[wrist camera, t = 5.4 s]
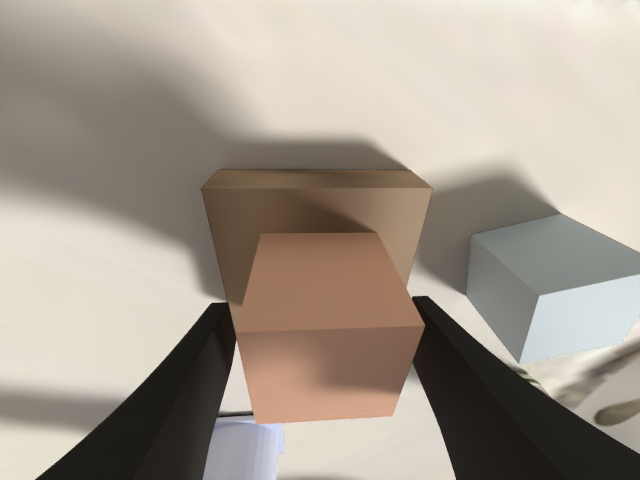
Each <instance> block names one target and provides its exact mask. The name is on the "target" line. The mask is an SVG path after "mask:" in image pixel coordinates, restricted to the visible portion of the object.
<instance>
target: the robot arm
mask: <svg viewBox="0 0 640 480" xmlns="http://www.w3.org/2000/svg"><path fill="white" fill-rule="evenodd" d="M412 301H413V303H414V305H415V307H416V309H417V311H418V312H419V314H420V316H421V318H422V320H423V322H424V324H425V328H424V331H423V333H422V336H421V339H420V341H419V344H418V347H417V350H416V352H415V355H414V358H413V361H412V362H413V365H414V367H415V369H416V372H417V374H418V377H419V379H420V381H421V384H422V386H423V388H424V391H425V393H426V395H427V398H428V400H429V403H430V405H431V407H432V410H433V412H434V414H435V417H436V419H437V422H438V425H439V427H440V430H441V433H442V436H443V439H444V442H445V445H446V448H447V451H448V454H449V457H450V460H451V463H452V467H453V470H454V473H455V477H456V480H640V454H639V453H637V452H635V451H634V450H631V449H630V448H628V447H627V446H625V445H623V444H622V443H620V442H618V441H617V440H615V439H613V438H612V437H610V436H609V435H607V434H605V433H604V432H602V431H601V430H599V429H597V428H596V427H594V426H593V425H591V424H589V423H588V422H586V421H585V420H583V419H582V418H580V417H579V416H577V415H576V414H574V413H573V412H571V411H570V410H568V409H567V408H565V407H564V406H562V405H561V404H559V403H558V402H556V401H555V400H553V399H552V398H550V397H549V396H548V395H546V394H545V393H543V392H542V391H541V390H539V389H538V388H536V387H535V386H534V385H532V384H531V383H530V382H528V381H527V380H525V379H524V378H523V377H521V376H520V375H519V374H517V373H516V372H515V371H513V370H512V369H511V368H510V367H508V366H507V365H506V364H505V363H503V362H502V361H501V360H500V359H498V358H497V357H496V356H495V355H493V354H492V353H491V352H490V351H489V350H487V349H486V348H485V347H484V346H483V345H481V344H480V343H479V342H478V341H477V340H476V339H474V338H473V337H472V336H471V335H470V334H469V333H468V332H467V331H465V330H464V329H463V328H462V327H461V326H460V325H459V324H458V323H457V322H455V321H454V320H453V319H452V318H451V317H450V316H449V315H448V314H447V313H446V312H445V311H443V310H442V309H441V308H440V307H439V306H438V305H437V304H436V303H435V302H434V301H433V300H431V299H430V298H429V297H428V296H413V297H412ZM235 344H236V333H235V329H234V325H233V320H232V316H231V312H230V307H229V303H228V302H223V303H211V304H210V305H209V306H208V308H207V309H206V310H205V311H204V313H203V314H202V315H201V316H200V318H199V319H198V320H197V321H196V323H195V324H194V325H193V326H192V328H191V329H190V330H189V331H188V333H187V334H186V335H185V336H184V337H183V338H182V340H181V341H180V342H179V343H178V344H177V345H176V347H175V348H174V349H173V350H172V351H171V352H170V354H169V355H168V356H167V357H166V358H165V359H164V360H163V361H162V362H161V364H160V365H159V366H158V367H157V368H156V369H155V370H154V371H153V372H152V373H151V374H150V375H149V377H148V378H147V379H146V380H145V381H144V382H143V383H142V384H141V385H140V386H139V387H138V388H137V389H136V390H135V391H134V392H133V393H132V394H131V395H130V396H129V397H128V398H127V399H126V400H125V401H124V402H123V403H122V404H121V405H120V406H119V407H118V408H117V409H116V410H115V411H114V412H112V413H111V414H110V415H109V416H108V417H107V418H106V419H105V420H104V421H103V422H102V423H101V424H99V425H98V426H97V427H96V428H95V429H94V430H93V431H92V432H91V433H89V434H88V435H87V436H86V437H85V438H84V439H83V440H82V441H81V442H79V443H78V444H77V445H76V446H75V447H74V448H73V449H71V450H70V451H69V452H68V453H67V454H66V455H64V456H63V457H62V458H61V459H60V460H59V461H57V462H56V463H55V464H54V465H52V466H51V467H50V468H49V469H48V470H46V471H45V472H44V473H43V474H41V475H40V476H39V477H38V478H37V479H35V480H276V473H277V457H278V454H283V453H284V452H285V447H284V439H283V430H282V423H273V424H257V425H256V423H255V419H254V415H251V416H235V417H219V418H217V416H218V412H219V409H220V405H221V402H222V398H223V395H224V391H225V388H226V384H227V381H228V377H229V373H230V370H231V366H232V361H233V356H234V350H235Z"/></svg>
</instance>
